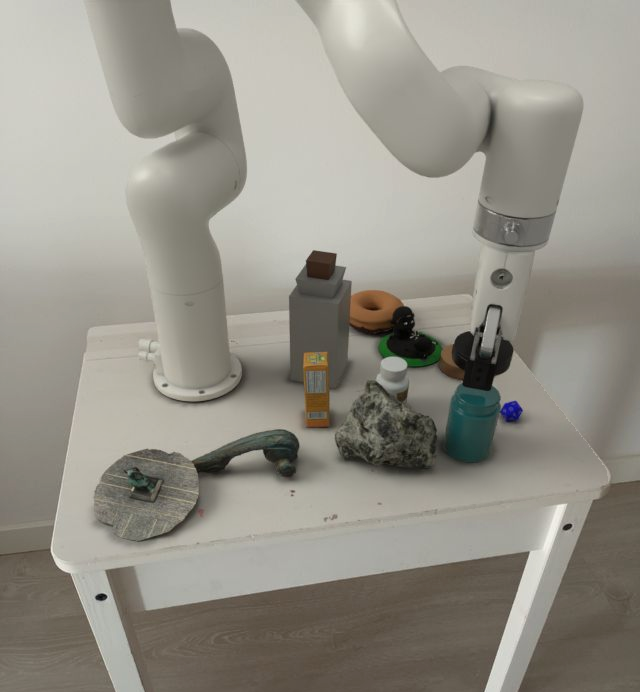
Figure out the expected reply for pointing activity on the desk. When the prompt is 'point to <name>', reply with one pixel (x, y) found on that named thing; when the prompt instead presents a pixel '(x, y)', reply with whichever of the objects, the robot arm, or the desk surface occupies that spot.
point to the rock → (387, 431)
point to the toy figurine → (409, 341)
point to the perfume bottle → (320, 315)
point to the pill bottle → (394, 377)
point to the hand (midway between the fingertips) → (479, 368)
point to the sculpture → (146, 493)
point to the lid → (465, 344)
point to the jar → (471, 423)
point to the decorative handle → (273, 443)
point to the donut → (373, 310)
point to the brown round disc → (450, 364)
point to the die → (511, 411)
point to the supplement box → (316, 389)
